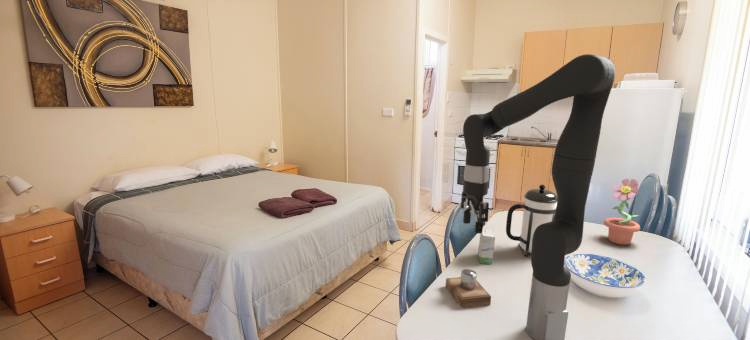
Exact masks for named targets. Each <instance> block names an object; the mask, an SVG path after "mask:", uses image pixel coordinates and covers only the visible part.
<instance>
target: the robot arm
mask: <svg viewBox="0 0 750 340" xmlns="http://www.w3.org/2000/svg"><path fill="white" fill-rule="evenodd" d="M615 78H616V69H615V65H614V64H613V62H612V61H611V60H610V59H609V58H607V57H605V56H601V55H596V54H589V53H588V54H581V55H579V56H576V57H575V58H573V59H571V60H570V61H568V62H567V63H565V64H564V65H563V66H561V67H560V68H558V69H557V70H555V72H553V73H551V74H550V75H549V76H547V77H545V78H544V79H543V80H541V81H539V82H538V83H536V84H535V85H533V86H530V87H529V88H527V89H525V90H522V92H519V93H517V94H515V95H513V96H510V97H509V98H507V99H505V100H503V101H501V102H499V103H497V104H496V105H495V106H493V107H492V110H490V111H489V112H488V111H487V112H486V113H479V114H477V113H476V114H470V115H469V116H467V117H466V119H465V120H464V123H463V126H462V135H463V138H464V139H463V140H464V145H465V150H466V152H465V153H466V155H465V166H464V171H463V185H462V191H461V199H460V209H462V212H463V220H462V221H463V222H462V223H464V224H466V225H467V224H470V223H471V218H472V217H471V216H472V215H473V216H474V218H475V224H474V225H475V226H474V232H475V234H480V233H482V231H483V229H484V228H483V227H484V223H487V222H488V221H489V206H490V205H489V202H487V201H486V202H485V201H484V197H485V196H487V195H488V192H489V182H490V181H489V179H490V157H491V150H490V148H489V146H487V145H485V141H484V138H486V137H490V136H493V135H495V134H497V133H499V132H501V131H502V130H504V129H505V128H507V127H509V126H512V125H514V124H517V123H519V122H521V121H524V120H526V119H528V118H530V117H531V116H533V115H534V114H536V113H538V112H539V111H541V110H542V109H543V108H546V107H547V106H549V105H551V104H553V103H556V102H558V101H561V100H564V99H568V98H573V100H572V104H571V105H572V106H571V110H570V114H569V117H568V120H567V121H566V124H565V126H564V128H563V129H562V131H561V133H560V135H559V138H558V140H557V143H556V146H555V149H554V154H553V159H552V164H551V179H552V182H553V185H554V188H555V194H556V196H557V205H556V212H555V216H554V219H553V221H551V222H548V223H544V224H541V225H539V226H538V227H537V228H536V229H535V231H534V234H533V239H532V252H531V253H530V254H531V255H530V264H531V265H530V266H531V268H532V275H531V276H532V277H531V285H530V291H529V298H528V308H527V309H528V311H527V316H526V327H525V330H526V333H527V335H528V336H529V337H531V338H532V339H533V340H565V338H566V332H567V325H568V316H569V311H568V310H567V305H568V297H569V291H570V285H571V284H570V283H571V277H572V274H571V271H570V270H569V268H567V267H566V266H565V257H566V256H568V255H571V254H572V253H574V252H576V251H577V250H578V249H579V248H580V247H581V245H582V242H583V236H584V224H585V223H584V222H585V213H586V212H585V211H586V205H587V201H588V200H587V199H588V196H589V191H590V187H591V186H590V185H591V181H592V176H593V173H594V168H595V164H596V158H597V151H598V146H599V142H600V137H601V136H600V135H601V130H602V122H603V117H604V115H605V114H604V113H605V110H606V107H607V105H608V104H607V103H608V100H609V97H610V94H611V91H612V89H613V85H614V82H615Z"/></svg>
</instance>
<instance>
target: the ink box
mask: <svg viewBox="0 0 750 340" xmlns="http://www.w3.org/2000/svg"><path fill="white" fill-rule="evenodd" d="M479 234H480V235H479V241H478V242H479V244H478V251H477V255H478V261H479V263H480V264H486V265H492V264H493V259H494V258H493V257H494V250H495V243H496V242H495V241H496V235H495V232H494V229H490V228H483V231H482V233H479Z"/></svg>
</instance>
